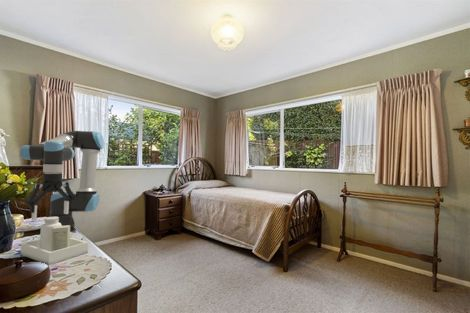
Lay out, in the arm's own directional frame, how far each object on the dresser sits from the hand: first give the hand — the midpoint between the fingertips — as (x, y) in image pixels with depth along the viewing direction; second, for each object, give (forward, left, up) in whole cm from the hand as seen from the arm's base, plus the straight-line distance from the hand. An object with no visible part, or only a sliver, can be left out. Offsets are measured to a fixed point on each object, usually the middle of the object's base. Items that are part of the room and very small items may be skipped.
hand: (50, 216), depth 114 cm
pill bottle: (0, +2, -16) cm, 16 cm away
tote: (+1, +7, -16) cm, 18 cm away
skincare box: (+1, +11, -16) cm, 19 cm away
